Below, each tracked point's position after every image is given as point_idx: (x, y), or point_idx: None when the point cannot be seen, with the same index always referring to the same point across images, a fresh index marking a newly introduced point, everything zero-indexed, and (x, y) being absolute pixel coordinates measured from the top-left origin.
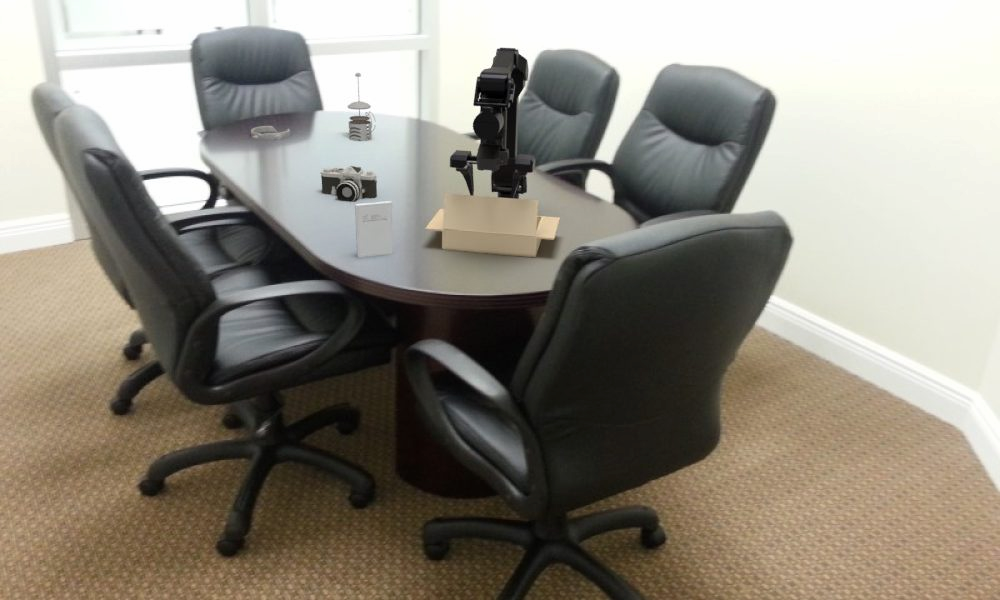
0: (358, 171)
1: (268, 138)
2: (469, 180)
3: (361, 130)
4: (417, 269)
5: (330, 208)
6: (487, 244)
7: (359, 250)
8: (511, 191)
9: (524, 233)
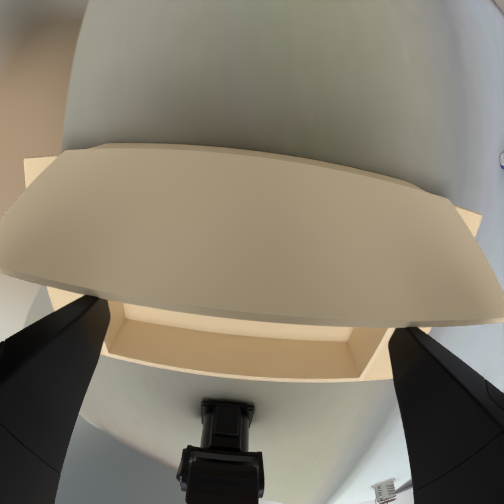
0: None
1: None
2: (489, 405)
3: (386, 493)
4: (452, 39)
5: (494, 367)
6: (267, 157)
7: None
8: (61, 328)
9: (99, 150)
